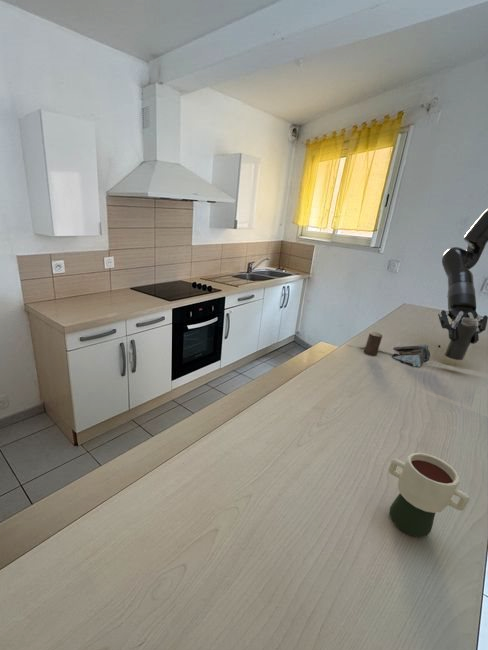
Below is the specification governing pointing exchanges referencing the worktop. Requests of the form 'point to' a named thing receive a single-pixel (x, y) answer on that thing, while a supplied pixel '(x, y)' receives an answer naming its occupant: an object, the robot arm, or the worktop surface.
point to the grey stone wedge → (412, 354)
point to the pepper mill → (461, 339)
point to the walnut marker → (373, 343)
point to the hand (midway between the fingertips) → (463, 341)
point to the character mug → (423, 492)
